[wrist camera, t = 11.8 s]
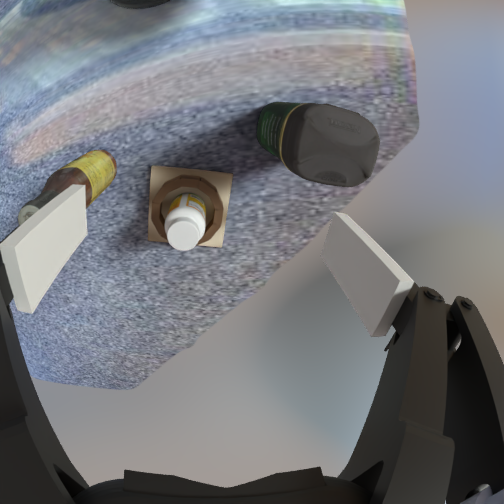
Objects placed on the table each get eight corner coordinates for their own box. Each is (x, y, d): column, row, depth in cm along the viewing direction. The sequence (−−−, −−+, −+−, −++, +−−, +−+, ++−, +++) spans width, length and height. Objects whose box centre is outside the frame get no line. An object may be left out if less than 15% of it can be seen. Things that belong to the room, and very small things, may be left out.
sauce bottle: (94, 140, 36) (20, 174, 18) (126, 162, 38) (68, 209, 21) (75, 176, 38) (4, 229, 20) (105, 196, 40) (47, 261, 23)
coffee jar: (252, 149, 40) (281, 183, 24) (261, 98, 37) (299, 93, 21) (314, 160, 42) (375, 199, 26) (324, 111, 38) (394, 122, 22)
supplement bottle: (173, 226, 43) (164, 258, 35) (168, 193, 41) (157, 218, 32) (207, 223, 44) (207, 254, 36) (204, 189, 41) (202, 213, 33)
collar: (152, 165, 39) (148, 169, 37) (232, 173, 42) (234, 178, 39) (148, 238, 45) (145, 247, 42) (221, 245, 47) (222, 254, 44)
